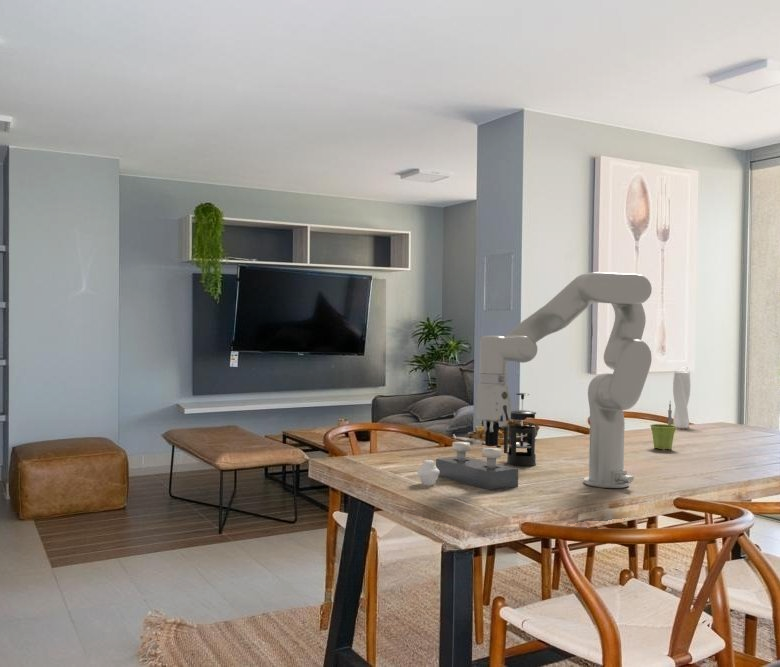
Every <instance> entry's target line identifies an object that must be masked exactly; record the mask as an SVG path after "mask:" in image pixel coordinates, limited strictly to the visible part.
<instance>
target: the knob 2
mask: <svg viewBox="0 0 780 667" xmlns="http://www.w3.org/2000/svg"><path fill="white" fill-rule="evenodd" d="M481 456H482V457H483V458H486V461H487V468H489V469H495V468H496V464H497V459H498V458H499V459H500V458H501V457H502V449H501V448H499V447H483V448H482V453H481Z"/></svg>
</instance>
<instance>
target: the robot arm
mask: <svg viewBox="0 0 780 667" xmlns="http://www.w3.org/2000/svg"><path fill="white" fill-rule="evenodd" d="M652 288H653V287H652V283H651V282H650V280H649V279H648V278H647V277H645V275H642V274H639V273H638V274H637V273H621V272H620V273H618V272H600V271H594V272H587V273H582V274H580V275H578V276H576V277H575V278H574V279H573V280H571V281H570V282H569V283H568V284H567V285H566V286H565V287H564V288H562V289H561V291H560V292H558V293H557V294H556V295H554V297H552V298H551V299H550V300H549V301H548V302H547V303H546V304H544V305H543V306H541V308H539V309H538V310H536V311H535V312H534V313H532V314H530V316H528V317H526V318H525V319H524V320H523V321H522V322H520V323H518V325H516V326H515V327H514V328H513V329H512V330H511V331H510V332H509V333H508V334H506V335H505V336H503V335H483V336H482V337H481V338H480V340H479V377H478V381H479V382H478V385H477V390H476V396H475V397H476V398H475V399H476V400H475V416H476V417H477V423H479V424H480V425H483V427H484V431H486V432H485V444H484V445H485V446H486V447H497V445H498V432H499V431H500V428H501V427H504V426H507V422H506V421H509V420H510V418H511V411H512V409H511V408H512V406H511V394H510V388H509V385H507V383H508V380H509V379H508V377H507V375H508V374H507V372H508V362H509V361H510V362H516V363H529V362H530V361H532V360H533V359H535V358H536V356H537V354H538V345H537V343H538V342H539V341H540V340H542V339H544V338H545V337H547V336H549V335H551V334H554V333H557V332H560V331H561V330H563V329H566V328H567V327H568V326H569V325H570V324H572V322H574V321H575V319H577V318H578V317H579V316H580V315H581V314H582V313H583V312H584V311H585V310H587V309H588V308H589V307H590V306H591V305H592V304H596V303H597V304H598V303H599V304H600V303H601V304H611V306H612V308H613V311H614V322H613V326H612V330H611V331H610V335H609V338H608V341H607V343H606V347H605V350H604V352H603V361H604V364H605V365H606V366H607V368H609V369H611V370H612V371H613V372H612V373H601V374H598V375H595V376H594V377H593V378H592V379H591V380H590V382H589V384H588V388H587V401H588V406H589V408H588V409H589V454H588V455H589V456H588V457H589V458H588V459H589V460H588V476H585V477H584V478H582V480H583V483H584V485H587V486H590V487H594V488H605V489H623V488H626V487H629V485H630V484H632V482H633V481H634V480H635V478H634V476H633V475H628V471H627V469H624V463H625V461H624V460H625V458H624V457H625V415H624V411H626V410H630V409H632V408H633V407H634V406H636V404H637V403H638V401H639V400H640V397H641V396H642V392H643V389H644V386H645V383H646V381H647V377H648V375H649V371H650V368H651V366H652V365H651V364H652V360H653V359H652V357H653V356H652V351H651V349H650V347H649V345H648V344H647V343H646V342H644V341H643V339H642V338H643V334H644V331H645V327H646V323H647V322H646V321H647V320H646V313H645V309H644V307H643V303H645V302H647V301H648V300H649V298H650V297H651V295H652Z"/></svg>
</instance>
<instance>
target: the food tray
mask: <svg viewBox="0 0 780 667" xmlns="http://www.w3.org/2000/svg"><path fill="white" fill-rule="evenodd" d="M506 422H507V426H521V422H522V420H513V419H510V420H509V421H506ZM523 426H532V427H536V432H535V438H537V436H538V434H539V433H538V431H539V430H540V428H541V426H540V425H539V424H537V423H533V422H530V421H526V420H523ZM504 427H505V426H504ZM504 427H501V428H500V431H499V432H498V445H497V446H496V448H501V447H502V446H501V445H503V446H504ZM485 432H486V431H484V427H483V425H482V424H480V425H477V426H474V431H469V432H467V433H466V434H467V437H462V436H456V435H455V433H454V434H452V439H455V440H457V439H458V440H462V441H467V442H468V441H469V442H473V443H477V444H481V445H485ZM520 441H521V433H516V443H520ZM522 441H523V442H527V433H522ZM508 445H509V431H508Z"/></svg>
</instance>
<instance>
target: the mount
mask: <svg viewBox="0 0 780 667" xmlns="http://www.w3.org/2000/svg"><path fill="white" fill-rule="evenodd" d="M435 466H436V467H437V468H438V470H439V471H440V473H439V475H438V477H440V478H444V479H448V480H450V481H454V482H458V483H462V484H466V485H468V486H472V487H476V488H480V489H484V490H488V491H491V492H492V491H498V490H505V489H513V488H518V487H519V468H517V467H514V466H510V465H508V466H507V465H504V464H503V465H502V464H500V463H496V468H495V469H489V468H487V460H482V459H481V460H480V459H476V458H474V457H467V456H466V461H463V462H459V461H457V456H450V457H440V458H435Z"/></svg>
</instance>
